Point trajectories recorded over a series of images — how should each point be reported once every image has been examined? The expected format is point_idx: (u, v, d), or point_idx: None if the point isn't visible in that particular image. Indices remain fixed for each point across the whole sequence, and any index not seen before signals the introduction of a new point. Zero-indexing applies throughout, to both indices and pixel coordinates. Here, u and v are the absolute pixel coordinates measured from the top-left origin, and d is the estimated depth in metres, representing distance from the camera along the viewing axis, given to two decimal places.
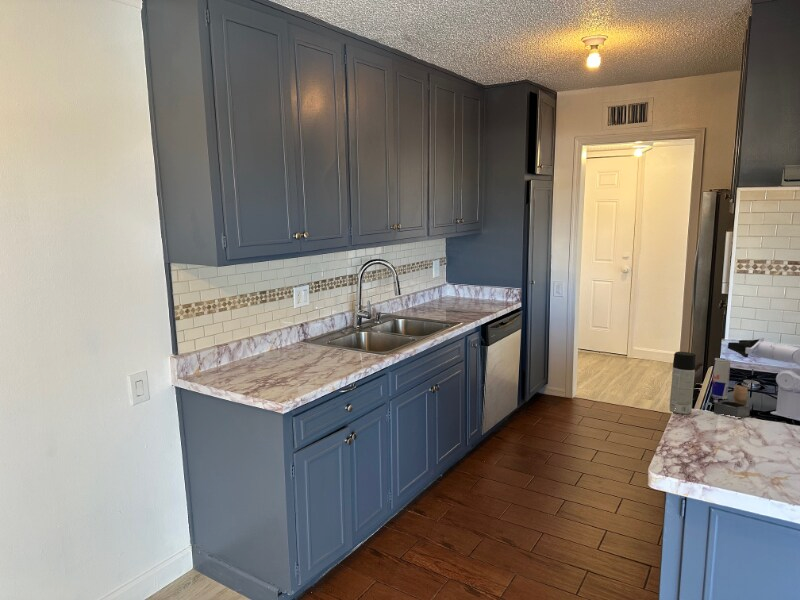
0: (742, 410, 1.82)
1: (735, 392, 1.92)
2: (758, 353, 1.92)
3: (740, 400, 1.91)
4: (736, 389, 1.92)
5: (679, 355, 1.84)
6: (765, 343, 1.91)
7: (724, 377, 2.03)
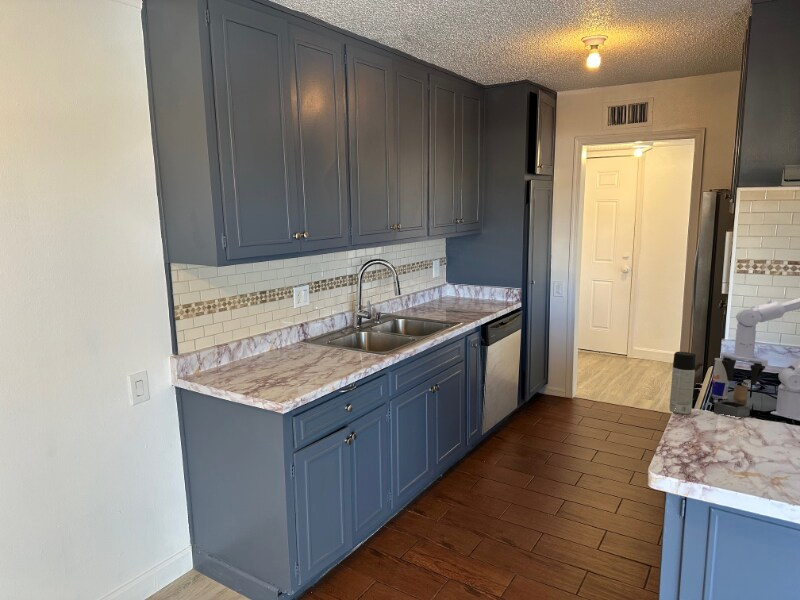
0: (742, 410, 1.82)
1: (735, 392, 1.92)
2: (753, 356, 1.89)
3: (740, 400, 1.91)
4: (736, 389, 1.92)
5: (679, 355, 1.84)
6: (744, 352, 1.88)
7: (724, 377, 2.03)
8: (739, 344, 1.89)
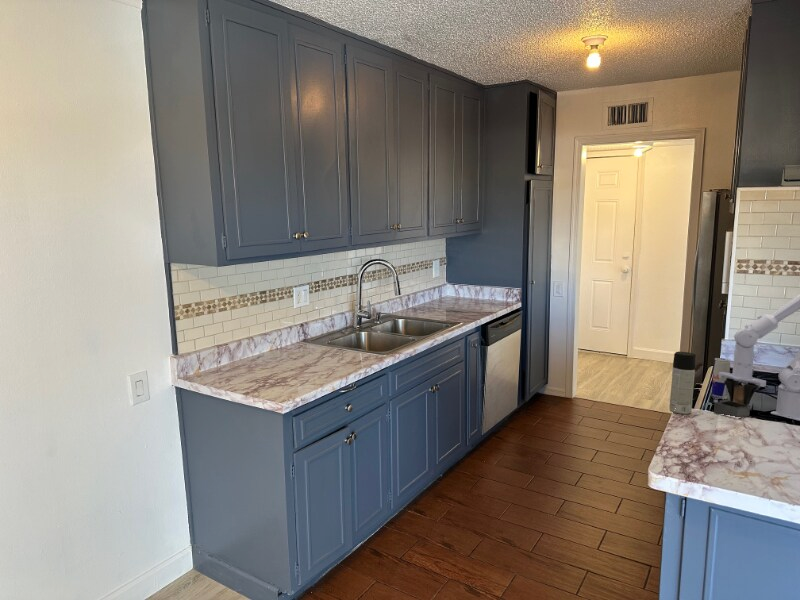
0: (742, 410, 1.82)
1: (735, 392, 1.92)
2: (751, 376, 1.90)
3: (740, 400, 1.91)
4: (736, 389, 1.92)
5: (679, 355, 1.84)
6: (742, 373, 1.89)
7: None
8: (737, 364, 1.90)
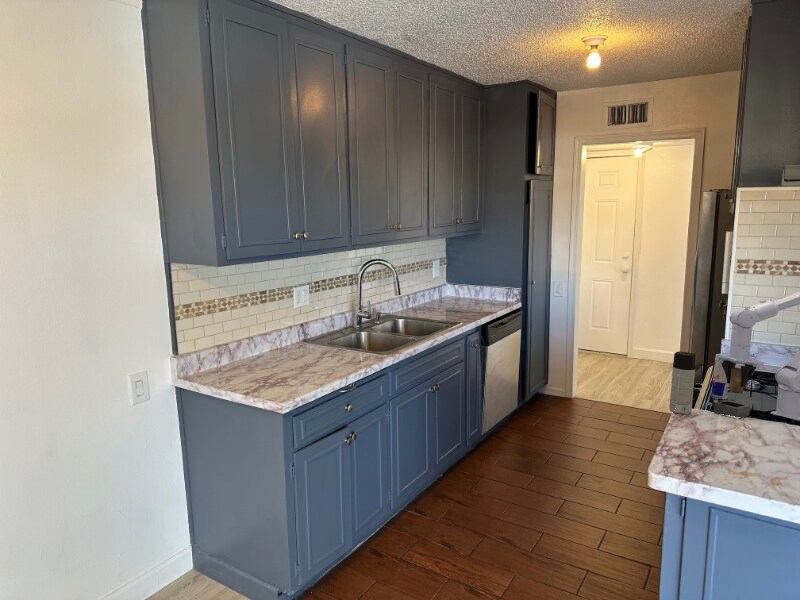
0: (742, 410, 1.82)
1: (732, 374, 1.87)
2: None
3: (737, 382, 1.86)
4: (733, 371, 1.87)
5: (679, 355, 1.84)
6: (739, 354, 1.85)
7: (724, 377, 2.03)
8: (734, 345, 1.86)
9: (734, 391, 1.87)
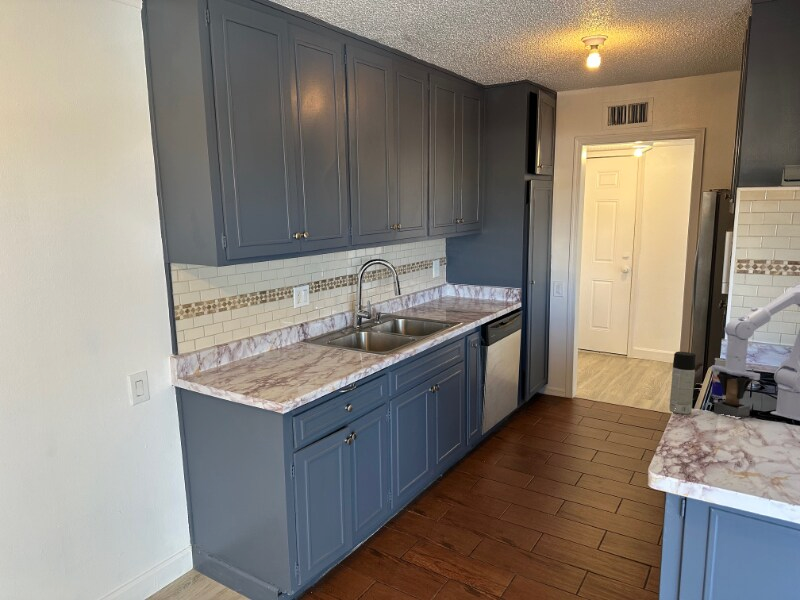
0: (742, 410, 1.82)
1: (728, 386, 1.85)
2: (745, 370, 1.83)
3: (733, 394, 1.84)
4: (729, 383, 1.85)
5: (679, 355, 1.84)
6: (736, 366, 1.82)
7: None
8: (730, 357, 1.83)
9: (730, 403, 1.84)
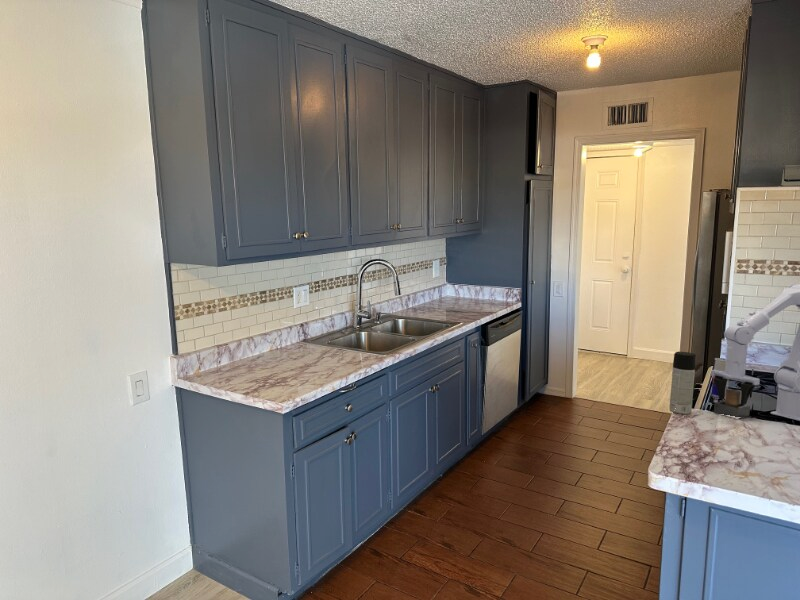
0: (742, 410, 1.82)
1: (727, 396, 1.85)
2: None
3: (732, 405, 1.84)
4: (728, 394, 1.85)
5: (679, 355, 1.84)
6: (735, 371, 1.82)
7: None
8: (730, 362, 1.83)
9: None
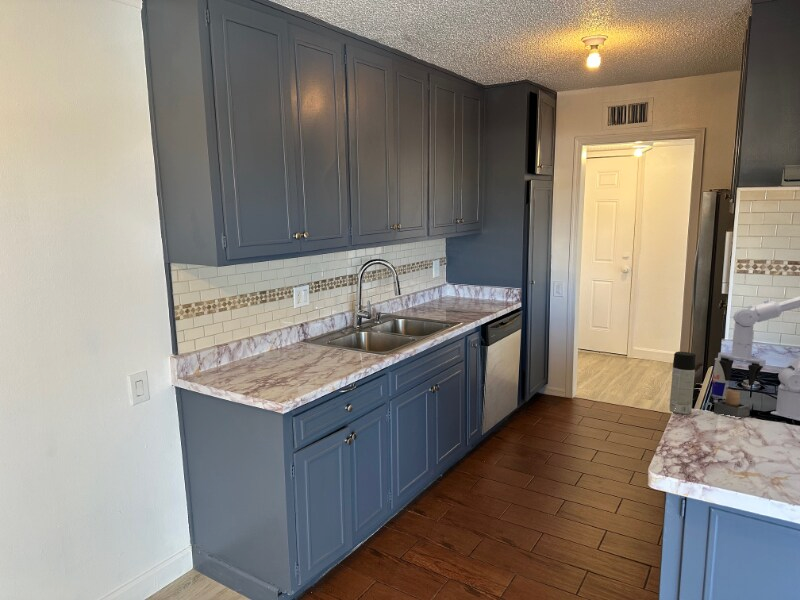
0: (742, 410, 1.82)
1: (727, 396, 1.85)
2: None
3: (732, 405, 1.84)
4: (728, 394, 1.85)
5: (679, 355, 1.84)
6: (742, 352, 1.88)
7: (724, 377, 2.03)
8: (737, 344, 1.89)
9: None
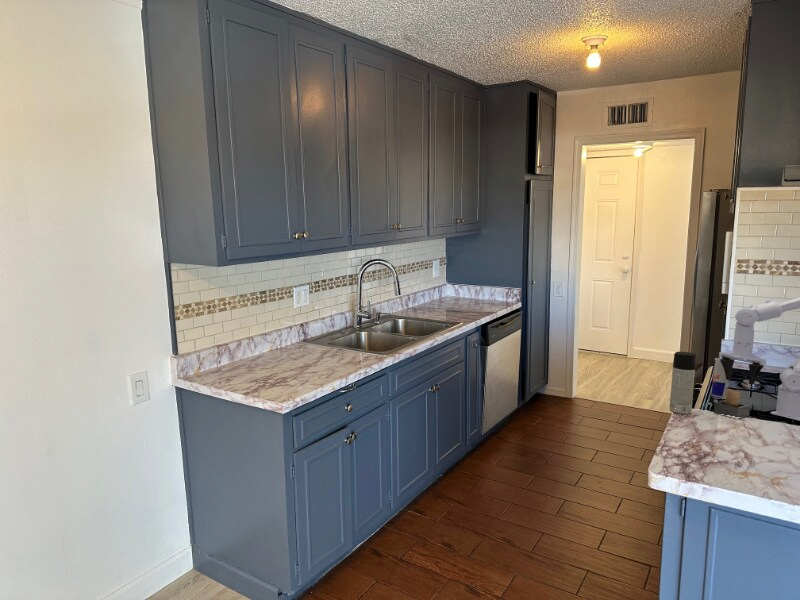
0: (742, 410, 1.82)
1: (727, 396, 1.85)
2: None
3: (732, 405, 1.84)
4: (728, 394, 1.85)
5: (679, 355, 1.84)
6: (743, 352, 1.90)
7: (724, 377, 2.03)
8: (737, 343, 1.91)
9: None
